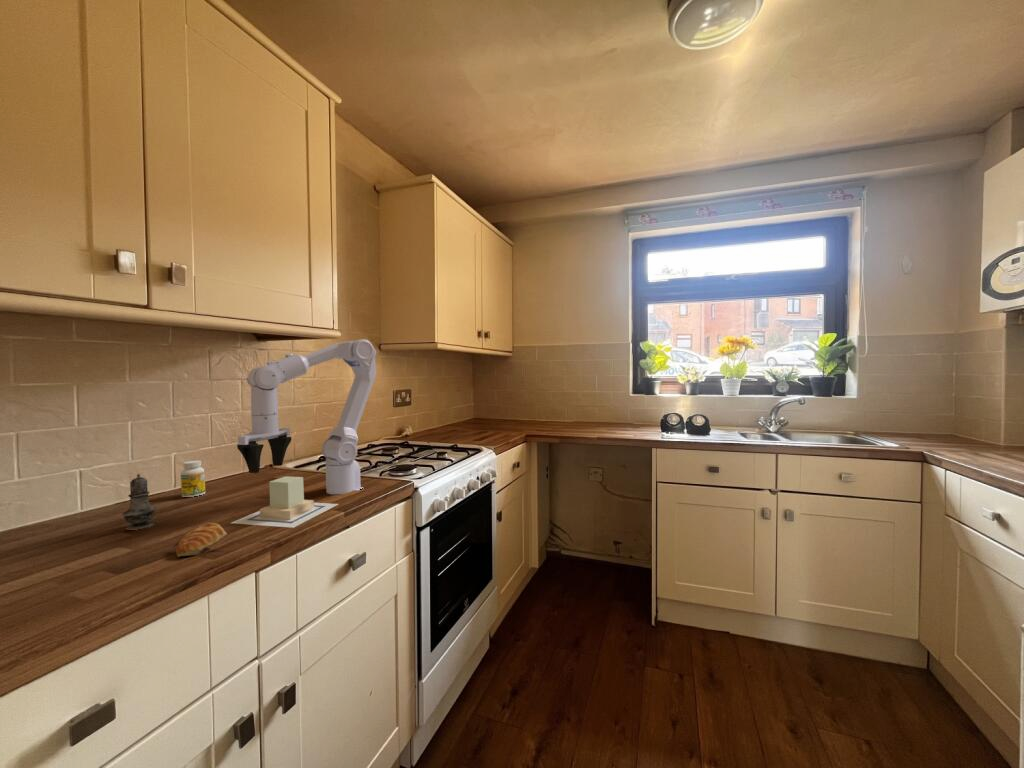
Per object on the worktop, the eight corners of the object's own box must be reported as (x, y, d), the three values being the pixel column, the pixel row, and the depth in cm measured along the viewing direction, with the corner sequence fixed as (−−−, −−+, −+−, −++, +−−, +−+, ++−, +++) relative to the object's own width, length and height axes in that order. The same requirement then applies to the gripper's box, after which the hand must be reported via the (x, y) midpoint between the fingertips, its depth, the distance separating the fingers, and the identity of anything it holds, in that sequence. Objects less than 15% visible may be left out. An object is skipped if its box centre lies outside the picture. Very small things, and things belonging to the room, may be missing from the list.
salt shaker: (164, 523, 95) (162, 471, 95) (134, 532, 89) (132, 477, 89) (145, 520, 97) (143, 470, 96) (115, 530, 91) (113, 476, 91)
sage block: (286, 500, 101) (285, 476, 101) (303, 501, 100) (303, 477, 100) (270, 507, 96) (269, 481, 96) (288, 508, 95) (287, 482, 95)
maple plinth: (285, 506, 103) (285, 498, 103) (314, 508, 101) (313, 500, 101) (260, 517, 95) (259, 509, 95) (290, 519, 93) (290, 511, 93)
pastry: (205, 557, 77) (204, 537, 77) (164, 561, 76) (163, 541, 76) (229, 538, 86) (228, 520, 86) (192, 541, 85) (191, 523, 85)
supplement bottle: (209, 492, 120) (207, 459, 120) (199, 497, 115) (198, 463, 114) (187, 493, 119) (186, 460, 118) (177, 499, 114) (176, 464, 113)
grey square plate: (283, 504, 107) (283, 500, 107) (338, 507, 104) (338, 503, 104) (230, 527, 92) (230, 522, 92) (293, 532, 88) (293, 527, 88)
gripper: (272, 411, 110) (274, 462, 110) (225, 417, 96) (227, 475, 96) (296, 411, 109) (297, 463, 109) (252, 417, 95) (253, 476, 95)
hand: (266, 469), depth 103 cm, fingers open, 7 cm apart
